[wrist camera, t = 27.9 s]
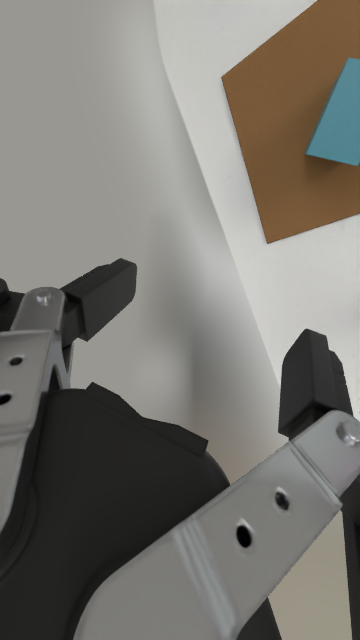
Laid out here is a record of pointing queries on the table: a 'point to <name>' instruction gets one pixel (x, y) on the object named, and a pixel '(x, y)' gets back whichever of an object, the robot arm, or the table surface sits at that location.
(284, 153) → the mat
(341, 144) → the teal rectangular block
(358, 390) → the table surface
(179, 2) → the table surface
